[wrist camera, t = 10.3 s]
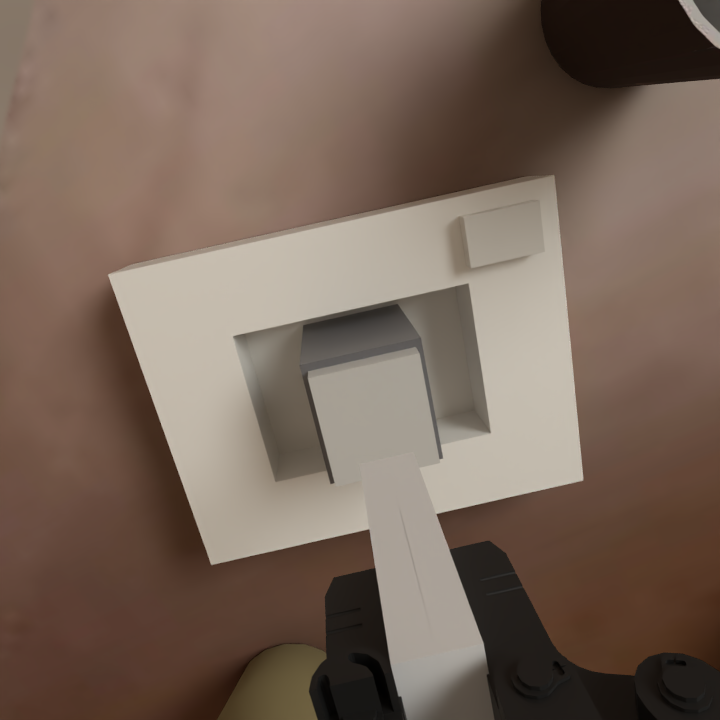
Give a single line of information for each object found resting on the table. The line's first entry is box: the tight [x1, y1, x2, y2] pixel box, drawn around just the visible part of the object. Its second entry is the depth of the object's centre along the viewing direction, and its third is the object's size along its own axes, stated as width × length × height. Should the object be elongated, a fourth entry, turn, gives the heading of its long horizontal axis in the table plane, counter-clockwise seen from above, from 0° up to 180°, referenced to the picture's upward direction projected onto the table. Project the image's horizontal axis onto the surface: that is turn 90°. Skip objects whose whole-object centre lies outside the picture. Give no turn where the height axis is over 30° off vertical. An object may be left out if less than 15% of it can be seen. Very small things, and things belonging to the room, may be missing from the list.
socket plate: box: [108, 175, 583, 565], centre depth 25 cm, size 14×18×4 cm
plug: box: [299, 304, 443, 487], centre depth 23 cm, size 5×4×7 cm
